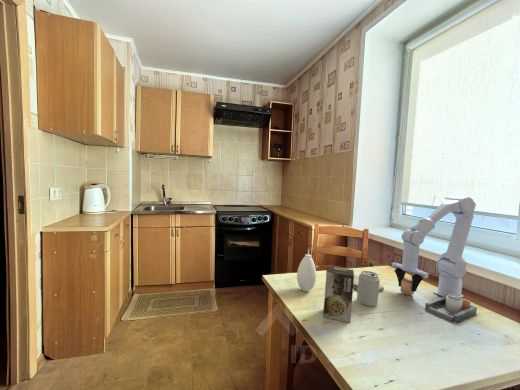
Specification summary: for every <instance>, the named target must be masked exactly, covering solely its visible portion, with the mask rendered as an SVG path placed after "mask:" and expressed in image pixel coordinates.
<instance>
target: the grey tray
mask: <svg viewBox="0 0 520 390" xmlns="http://www.w3.org/2000/svg"><path fill="white" fill-rule="evenodd" d="M445 304H446V296H444V297H443V296H442V297H439V298H435V299H434V300H433V299H432V300H431V301H428V302H425V307H424V309H425V310H426V311H427V312H428V313H431V314H434V315H435V316H437V317H440V318H442V319H445V320H447V321H449V322H451V323H454V324H458V323H460V322H462V321H464V320H467V319H468V318H471V317H472V316H475V315H477V311H478V307H477V306H476V305H472V304H470V308H468V309H465V310H463V311H462V310H461V312H459V313H456V314H455V313H453V316H452V315H449V314H447V313H445V312H443V311H440V310H437V308H439V307H441V306H445Z"/></svg>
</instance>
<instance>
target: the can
mask: <svg viewBox="0 0 520 390" xmlns="http://www.w3.org/2000/svg"><path fill="white" fill-rule="evenodd" d="M358 276H359V282H358V290H357V291H356V292H357V293H356V300H357V301H358V303H359V304H360V305H362V306H365V307H371V308H372V307H375V306H376V305H378V301H379V293H380V292H379V285H380V282H381V281H380V280H381V278H379V274H378V273H377V272H374V271H371V270H361V271H360V273H359V275H358Z"/></svg>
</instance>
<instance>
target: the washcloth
mask: <svg viewBox="0 0 520 390" xmlns="http://www.w3.org/2000/svg"><path fill="white" fill-rule="evenodd" d="M358 282H359V275H357V274H355V273H354V283H353V290H356V291H358ZM384 289H385V287H384V286H383V285H381V284H379V293H380V292H382V291H384Z"/></svg>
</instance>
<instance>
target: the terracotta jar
mask: <svg viewBox="0 0 520 390" xmlns="http://www.w3.org/2000/svg"><path fill="white" fill-rule="evenodd" d="M400 292H401V293H403V294H404V295H407V296H408V295H409V296H410V295H411V296H412V295H415V292H412V278H409V277H404V278H403V279H402V280H401V287H400Z"/></svg>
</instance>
